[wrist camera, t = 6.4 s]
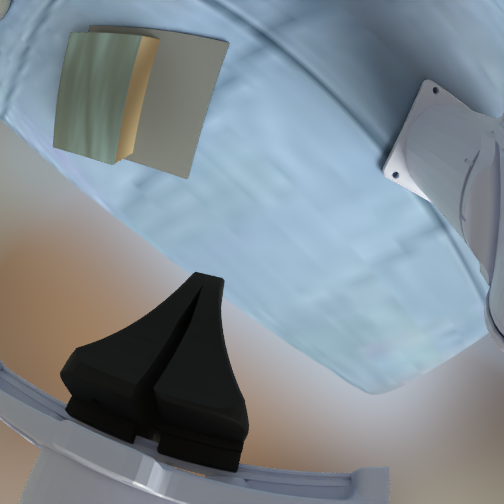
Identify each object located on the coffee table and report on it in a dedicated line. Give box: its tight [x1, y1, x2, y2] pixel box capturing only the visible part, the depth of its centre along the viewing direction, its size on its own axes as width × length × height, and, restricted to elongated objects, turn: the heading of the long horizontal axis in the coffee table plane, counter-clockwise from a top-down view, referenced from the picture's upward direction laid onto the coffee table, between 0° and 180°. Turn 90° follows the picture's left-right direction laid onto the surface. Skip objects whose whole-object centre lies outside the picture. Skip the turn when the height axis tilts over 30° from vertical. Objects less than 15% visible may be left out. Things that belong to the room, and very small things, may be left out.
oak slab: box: [53, 32, 160, 165], centre depth 16 cm, size 3×9×6 cm
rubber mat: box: [88, 26, 230, 179], centre depth 18 cm, size 12×10×1 cm
